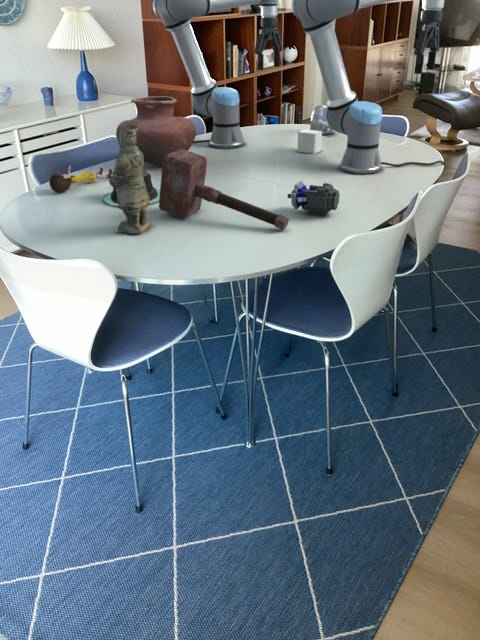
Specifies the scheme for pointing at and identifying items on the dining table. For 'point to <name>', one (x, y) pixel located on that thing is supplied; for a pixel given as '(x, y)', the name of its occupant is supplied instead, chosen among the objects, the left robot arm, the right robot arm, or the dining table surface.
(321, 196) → the toy
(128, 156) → the statue
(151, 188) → the chocolate cake
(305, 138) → the brick
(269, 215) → the sledgehammer
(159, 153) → the clay pot
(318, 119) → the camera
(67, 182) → the figurine
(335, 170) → the dining table surface
